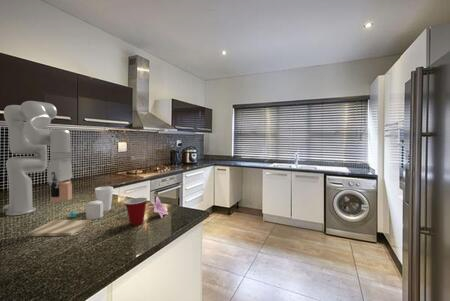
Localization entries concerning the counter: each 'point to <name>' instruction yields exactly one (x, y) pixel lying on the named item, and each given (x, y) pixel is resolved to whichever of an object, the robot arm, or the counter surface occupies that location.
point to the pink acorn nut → (63, 192)
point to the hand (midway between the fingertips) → (61, 194)
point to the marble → (73, 214)
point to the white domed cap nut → (94, 210)
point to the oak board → (59, 228)
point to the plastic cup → (136, 210)
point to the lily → (159, 207)
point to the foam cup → (104, 196)
